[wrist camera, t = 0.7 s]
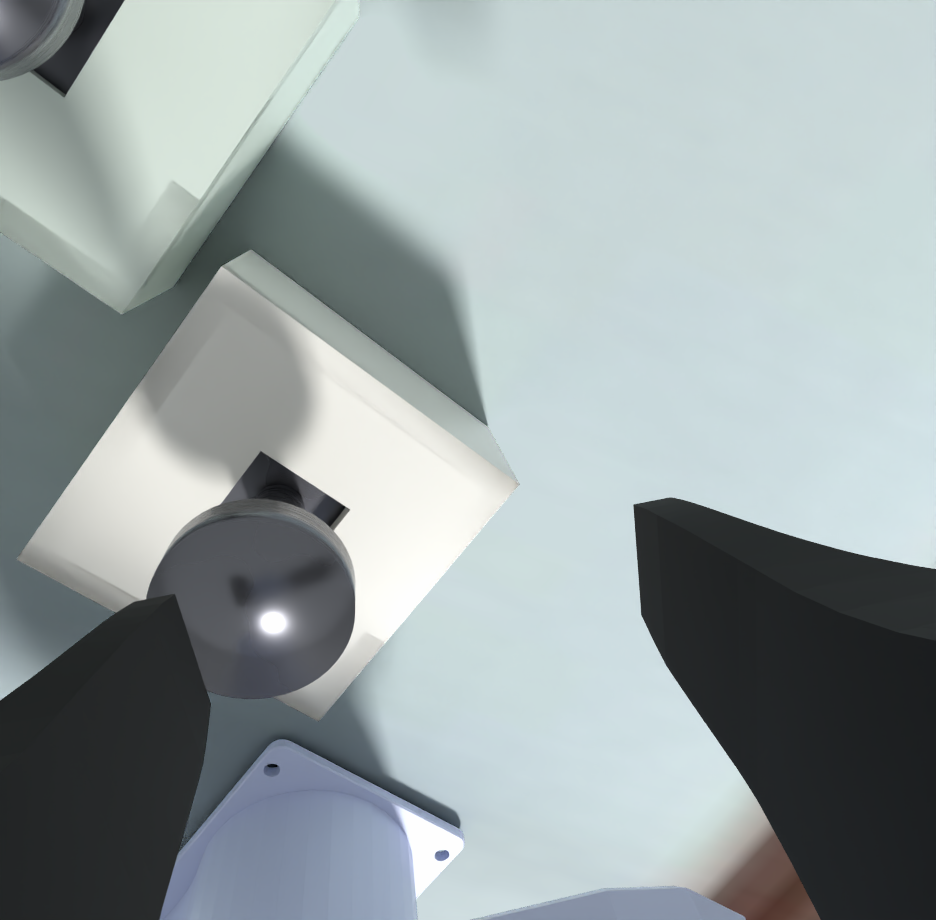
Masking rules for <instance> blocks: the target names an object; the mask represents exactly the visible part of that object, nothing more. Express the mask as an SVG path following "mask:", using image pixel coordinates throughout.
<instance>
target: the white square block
mask: <svg viewBox="0 0 936 920" xmlns="http://www.w3.org/2000/svg"><path fill="white" fill-rule="evenodd" d="M260 451H262V452H263V453H265V454H266V455H268V456H269V457H271V458H272V459H274V460H275V461H277V462H278V463H280V464H281V465H283V466H285V467H286V468H288V469H289V470H291V471H292V472H294V473H295V474H297V475H298V476H300V477H301V478H303V479H304V480H306V481H307V482H309V483H311V484H312V485H314V486H315V487H317V488H318V489H320V490H321V491H323V492H324V493H326V494H327V495H329V496H330V497H332V498H333V499H335V500H336V501H338V502H340V503H341V504H343V505H344V506H346V508H345V509H344V510H343V511H342V513H341V514H340V515H339V516H338V518H337V519H336V520H335V521H334V523H333V524H332V525H331V526H330V528H331V529H332V530H333V531H334V532H335V533H336V534H337V536H338V537H339V538H340V539H341V541H342V542H343V544H344V546H345V547H346V549H347V551H348V553H349V556H350V558H351V560H352V564H353V568H354V573H355V622H354V627H353V632H352V634H351V637H350V640H349V643H348V645H347V646H346V648H345V650H344V652H343V654H342V655H341V656H340V658H339V659H338V660H337V662H336V663H335V664H334V665H333V666H332V667H331V668H330V669H329V670H328V671H327V672H326V673H325V674H323V675H322V676H321V677H320V678H318V679H317V680H315V681H314V682H312V683H310V684H309V685H307V686H305V687H303V688H301V689H299V690H296V691H293V692H291V693H288V694H285V695H280V696H276V697H273V698H275V699H277V700H279V701H281V702H283V703H284V704H286V705H288V706H290V707H292V708H294V709H296V710H297V711H299V712H301V713H303V714H305V715H307V716H309V717H311V718H312V719H314V720H316V721H318V722H319V721H320V720H321V718H322V717H323V716H324V715H325V714H326V713H327V711H328V710H329V709H330V708H331V707H332V705H333V704H334V703H335V702H336V701H337V700H338V698H339V697H340V696H341V695H342V694H343V692H344V691H345V690H346V689H347V688H348V687H349V685H350V684H351V683H352V682H353V681H354V679H355V678H356V677H357V676H358V675H359V674H360V672H361V671H362V670H363V669H364V668H365V666H366V665H367V664H368V663H369V662H370V661H371V659H372V658H373V657H374V656H375V655H376V653H377V652H378V651H379V650H380V649H381V648H382V646H383V645H384V644H385V643H386V642H387V640H388V639H389V638H390V637H391V636H392V635H393V633H394V632H395V631H396V630H397V629H398V627H399V626H400V625H401V624H402V623H403V622H404V620H405V619H406V618H407V617H408V616H409V614H410V613H411V612H412V611H413V610H414V609H415V607H416V606H417V605H418V604H419V603H420V601H421V600H422V599H423V598H424V597H425V596H426V594H427V593H428V592H429V591H430V590H431V588H432V587H433V586H434V585H435V584H436V583H437V581H438V580H439V579H440V578H441V577H442V575H443V574H444V573H445V572H446V571H447V570H448V568H449V567H450V566H451V565H452V564H453V562H454V561H455V560H456V559H457V558H458V557H459V555H460V554H461V553H462V552H463V551H464V550H465V548H466V547H467V546H468V545H469V544H470V542H471V541H472V540H473V539H474V538H475V537H476V535H477V534H478V533H479V532H480V531H481V529H482V528H483V527H484V526H485V525H486V524H487V522H488V521H489V520H490V519H491V518H492V516H493V515H494V514H495V513H496V512H497V511H498V509H499V508H500V507H501V506H502V505H503V503H504V502H505V501H506V500H507V499H508V498H509V496H510V495H511V494H512V493H513V492H514V490H515V489H516V488H517V487H518V486H519V485H520V484H519V482H518V480H517V479H516V477H515V475H514V473H513V471H512V469H511V468H510V466H509V464H508V462H507V460H506V459H505V457H504V455H503V453H502V451H501V449H500V448H499V446H498V444H497V442H496V440H495V438H494V437H493V435H492V433H491V431H490V429H489V427H487V426H486V425H485V424H483V423H482V422H481V421H479V420H478V419H477V418H475V417H474V416H473V415H471V414H470V413H469V412H467V411H466V410H465V409H463V408H462V407H461V406H459V405H458V404H457V403H455V402H454V401H453V400H451V399H450V398H449V397H447V396H446V395H445V394H443V393H442V392H441V391H439V390H438V389H437V388H435V387H434V386H433V385H431V384H430V383H429V382H427V381H426V380H425V379H423V378H422V377H421V376H419V375H418V374H417V373H415V372H414V371H413V370H411V369H410V368H409V367H407V366H406V365H405V364H403V363H402V362H401V361H399V360H398V359H397V358H395V357H394V356H393V355H391V354H390V353H389V352H388V351H386V350H385V349H384V348H382V347H381V346H380V345H378V344H377V343H376V342H374V341H373V340H372V339H370V338H369V337H368V336H366V335H365V334H364V333H362V332H361V331H360V330H358V329H357V328H356V327H354V326H353V325H352V324H350V323H349V322H348V321H346V320H345V319H344V318H342V317H341V316H340V315H338V314H337V313H336V312H334V311H333V310H332V309H330V308H329V307H328V306H326V305H325V304H324V303H322V302H321V301H320V300H318V299H317V298H316V297H314V296H313V295H312V294H310V293H309V292H308V291H306V290H305V289H304V288H302V287H301V286H300V285H298V284H297V283H296V282H294V281H293V280H292V279H290V278H289V277H288V276H286V275H285V274H284V273H282V272H281V271H280V270H278V269H277V268H276V267H274V266H273V265H272V264H270V263H269V262H268V261H266V260H265V259H264V258H262V257H261V256H260V255H258V254H257V253H256V252H254V251H253V250H252V249H251V250H249V251H247V252H245V253H244V254H242V255H240V256H238V257H237V258H235V259H233V260H231V261H230V262H228V263H226V264H224V265H223V266H221V267H220V269H219V270H218V272H217V273H216V275H215V276H214V277H213V279H212V280H211V282H210V283H209V285H208V286H207V287H206V289H205V290H204V292H203V293H202V295H201V296H200V297H199V299H198V300H197V302H196V303H195V305H194V306H193V307H192V309H191V310H190V312H189V313H188V315H187V316H186V317H185V319H184V320H183V322H182V323H181V325H180V326H179V327H178V329H177V330H176V332H175V333H174V335H173V336H172V337H171V339H170V340H169V342H168V343H167V345H166V346H165V347H164V349H163V350H162V352H161V353H160V355H159V356H158V357H157V359H156V360H155V362H154V363H153V365H152V366H151V368H150V369H149V370H148V372H147V373H146V375H145V376H144V378H143V379H142V380H141V382H140V383H139V385H138V386H137V388H136V389H135V390H134V392H133V393H132V395H131V396H130V398H129V399H128V400H127V402H126V403H125V405H124V406H123V408H122V409H121V410H120V412H119V413H118V415H117V416H116V418H115V419H114V420H113V422H112V423H111V425H110V426H109V428H108V429H107V430H106V432H105V433H104V435H103V436H102V438H101V439H100V440H99V442H98V443H97V445H96V446H95V448H94V449H93V450H92V452H91V453H90V455H89V456H88V458H87V459H86V460H85V462H84V463H83V465H82V466H81V468H80V469H79V470H78V472H77V473H76V475H75V476H74V478H73V479H72V480H71V482H70V483H69V485H68V486H67V488H66V489H65V490H64V492H63V493H62V495H61V496H60V498H59V499H58V500H57V502H56V503H55V505H54V506H53V508H52V509H51V510H50V512H49V513H48V515H47V516H46V518H45V519H44V520H43V522H42V523H41V525H40V526H39V528H38V529H37V530H36V532H35V533H34V535H33V536H32V538H31V539H30V540H29V542H28V543H27V545H26V546H25V548H24V549H23V550H22V552H21V553H20V555H19V556H18V558H17V559H16V560H18V561H20V562H22V563H23V564H25V565H27V566H29V567H31V568H33V569H35V570H37V571H38V572H40V573H42V574H44V575H46V576H48V577H50V578H51V579H53V580H55V581H57V582H59V583H61V584H63V585H65V586H66V587H68V588H70V589H72V590H74V591H76V592H78V593H79V594H81V595H83V596H85V597H87V598H89V599H91V600H92V601H94V602H96V603H98V604H100V605H102V606H104V607H106V608H107V609H109V610H111V611H113V612H115V613H117V612H118V611H120V610H121V609H123V608H124V607H126V606H127V605H129V604H131V603H133V602H135V601H140V600H145V599H146V596H147V592H148V588H149V584H150V582H151V580H152V577H153V575H154V573H155V571H156V569H157V567H158V565H159V563H160V562H161V560H162V558H163V556H164V554H165V552H166V550H167V548H168V546H169V545H170V543H171V542H172V540H173V539H174V537H175V536H176V535H177V533H178V532H179V531H180V530H181V529H182V528H183V527H184V526H185V525H186V524H187V523H188V522H189V521H191V520H192V519H193V518H195V517H196V516H198V515H199V514H201V513H202V512H204V511H206V510H208V509H210V508H212V507H215V506H218V505H220V504H221V503H222V502H223V500H224V499H225V498H226V496H227V495H228V494H229V492H230V491H231V490H232V488H233V487H234V486H235V484H236V483H237V482H238V480H239V479H240V478H241V477H242V475H243V474H244V473H245V471H246V470H247V469H248V467H249V466H250V465H251V463H252V462H253V461H254V459H255V458H256V457H257V455H258V454H259V453H260Z"/></svg>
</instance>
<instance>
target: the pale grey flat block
mask: <svg viewBox="0 0 936 920" xmlns="http://www.w3.org/2000/svg"><path fill="white" fill-rule="evenodd" d="M359 3H360V0H125V1H124V2H123V4H122V6H121V7H120V9H119V10H118V12H117V14H116V15H115V17H114V18H113V20H112V22H111V23H110V25H109V27H108V28H107V30H106V31H105V33H104V35H103V36H102V38H101V39H100V41H99V43H98V44H97V46H96V47H95V49H94V51H93V52H92V54H91V56H90V57H89V59H88V60H87V62H86V64H85V65H84V67H83V68H82V70H81V72H80V73H79V75H78V77H77V78H76V80H75V81H74V83H73V85H72V86H71V88H70V89H69V91H68V93H67V94H66V95H65V94H64V93H63V92H62V91H60V90H59V89H58V88H56V87H55V86H54V85H52V84H51V83H50V82H48V81H47V80H46V79H44V78H43V77H42V76H40V75H39V74H38V73H36V72H35V71H34V70H31V71H30V72H28V73H26V74H24V75H21V76H18V77H15V78H12V79H8V80H3V81H0V233H2V234H3V235H4V236H6V237H7V238H9V239H10V240H12V241H13V242H15V243H16V244H18V245H19V246H21V247H22V248H24V249H25V250H27V251H28V252H30V253H31V254H33V255H34V256H36V257H37V258H39V259H40V260H41V261H43V262H44V263H46V264H47V265H49V266H50V267H52V268H53V269H55V270H56V271H58V272H59V273H61V274H62V275H64V276H65V277H67V278H68V279H70V280H71V281H73V282H74V283H76V284H77V285H78V286H80V287H81V288H83V289H84V290H86V291H87V292H89V293H90V294H92V295H93V296H95V297H96V298H98V299H99V300H101V301H102V302H104V303H105V304H107V305H108V306H110V307H111V308H113V309H114V310H116V311H117V312H118V313H120V314H121V315H122V314H124V313H126V312H128V311H130V310H132V309H133V308H135V307H137V306H139V305H141V304H143V303H145V302H147V301H148V300H150V299H152V298H154V297H156V296H158V295H160V294H161V293H163V292H165V291H167V290H169V289H171V288H173V287H174V285H175V284H176V282H177V281H178V280H179V278H180V277H181V275H182V274H183V272H184V271H185V269H186V268H187V266H188V265H189V264H190V262H191V261H192V259H193V258H194V256H195V255H196V253H197V252H198V251H199V249H200V248H201V246H202V245H203V243H204V242H205V240H206V239H207V237H208V236H209V235H210V233H211V232H212V230H213V229H214V227H215V226H216V224H217V223H218V222H219V220H220V219H221V217H222V216H223V214H224V213H225V211H226V210H227V208H228V207H229V206H230V204H231V203H232V201H233V200H234V198H235V197H236V195H237V194H238V192H239V191H240V190H241V188H242V187H243V185H244V184H245V182H246V181H247V179H248V178H249V177H250V175H251V174H252V172H253V171H254V169H255V168H256V166H257V165H258V163H259V162H260V161H261V159H262V158H263V156H264V155H265V153H266V152H267V150H268V149H269V148H270V146H271V145H272V143H273V142H274V140H275V139H276V137H277V136H278V134H279V133H280V132H281V130H282V129H283V127H284V126H285V124H286V123H287V121H288V120H289V118H290V117H291V116H292V114H293V113H294V111H295V110H296V108H297V107H298V105H299V104H300V103H301V101H302V100H303V98H304V97H305V95H306V94H307V92H308V91H309V89H310V88H311V87H312V85H313V84H314V82H315V81H316V79H317V78H318V76H319V75H320V74H321V72H322V71H323V69H324V68H325V66H326V65H327V63H328V62H329V60H330V59H331V58H332V56H333V55H334V53H335V52H336V50H337V49H338V47H339V46H340V45H341V43H342V42H343V40H344V39H345V37H346V36H347V34H348V33H349V31H350V30H351V29H352V27H353V26H354V24H355V23H356V21H357V20H358V18H359Z"/></svg>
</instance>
